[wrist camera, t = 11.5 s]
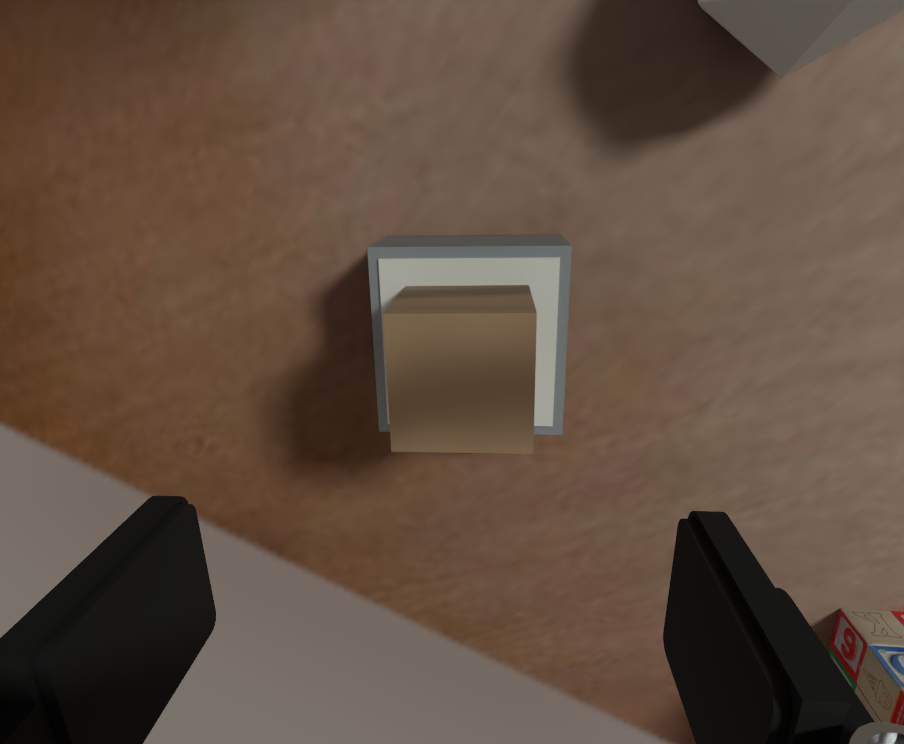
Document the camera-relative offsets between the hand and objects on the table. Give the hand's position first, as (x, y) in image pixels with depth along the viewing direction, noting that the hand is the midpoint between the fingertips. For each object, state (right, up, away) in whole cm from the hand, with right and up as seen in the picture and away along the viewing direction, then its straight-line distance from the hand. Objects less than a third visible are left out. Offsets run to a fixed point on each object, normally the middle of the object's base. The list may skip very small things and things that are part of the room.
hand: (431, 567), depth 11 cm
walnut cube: (+1, +5, +15) cm, 16 cm away
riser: (+2, +7, +20) cm, 21 cm away
